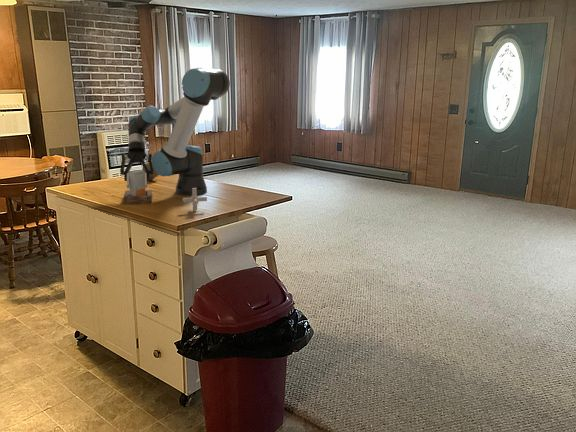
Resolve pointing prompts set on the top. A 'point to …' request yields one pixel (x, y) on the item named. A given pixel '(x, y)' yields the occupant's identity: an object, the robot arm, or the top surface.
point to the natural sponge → (151, 174)
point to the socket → (137, 198)
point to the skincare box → (137, 183)
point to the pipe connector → (194, 199)
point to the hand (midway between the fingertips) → (136, 186)
